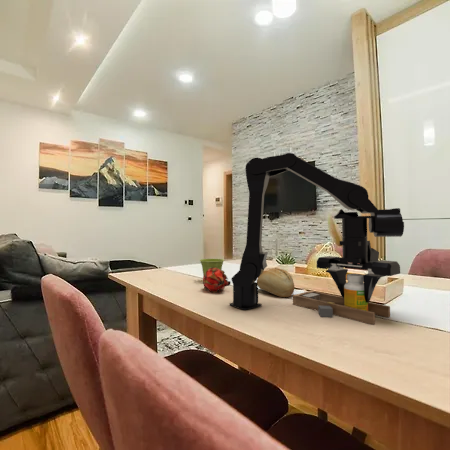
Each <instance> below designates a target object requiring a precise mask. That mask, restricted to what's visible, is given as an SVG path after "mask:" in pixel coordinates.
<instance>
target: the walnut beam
mask: <svg viewBox="0 0 450 450" xmlns="http://www.w3.org/2000/svg"><path fill="white" fill-rule="evenodd" d="M310 293H315V294H320V300H316V299H312V298H308V297H303V296H302V295H306V294H310ZM292 305H295V306H299V307H302V308H307V309H310V310H314V311H317V312H318V305H320V306H331V308H332V309H333V316H337V317H341V318H345V319H349V320H352V321H357V322H361V323H365V324H368V325H372V326H373V325H375V324H376V320H375V319H376V317H375V316H380V317H384V318H390V317H391V306H390V305H386V304H380V303H376V302H375V303H374V302H371V301H369V302H368V311H365V310H361V309H356V308H352V307H347V306H344V298H343V297H342V295H341V296H340V295H335V294H332V293H331V294H330V293H325V292H320V291H315V290H308V291H304V292H300V293H296V294H292Z"/></svg>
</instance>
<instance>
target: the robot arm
mask: <svg viewBox="0 0 450 450" xmlns="http://www.w3.org/2000/svg"><path fill="white" fill-rule="evenodd" d="M288 171H289V172H291V173H293V174H295V175H296V176H298V177H300V178H302V179H303V180H305V181H307V182H309V183H311V184H312V185H314V186H316V187H318V188H319V189H321V190H323V191H324V192H325V193H327V194H328V195H330V196H331V197H332V198H333V199H334V200H335V201H336V202H337V203H339V204H340V205H341V206H342V207H344V209H346V210H350V211H349V212H347V211H344V210H343V209H342V208H341V209H339V210H338V212H337V213H336V214H335V215H334V216H333V219H334V220H341V231H342V233H341V236H342V237H341V239H342V240H340V241H339V246H342V249H341V250H342V257H340V256H331V255H327V256H319V257H318V258H317V259H316V268H317V269H323V270H326V273H329V275H330V276H331V278H332V280H333V282H334V283H335V284H336V287H337V290H338V291H339V293H340V295H341V297H343V298H344V285H345V283H347V274H348V271H349V269H354V270H355V269H356V270H363V271H364V270H365V271H367V273H365V274H362V275H363V278H364V294H365V301H366V302H367V303H368V302H371V299H372V296H373V293H374V290H375V288H376V286H377V284H378V282H379V281H380V279H381V278H384V277H392V276H395V275H400V274H401V265H400V263H399V262H398V261H395V260H394V261H393V260H383V259H381V260H379V256H380V252H379V250H376V249H375V248H373V247H372V246H371V241H370V240H368V231H369V233H373V235H374V237H376V238H379V237H380V238H382V237H383V238H384V237H387V238H389V237H395V238H397V237H399V238H401V237H402V236H403V234H404V231H405V230H404V229H405V222H404V221H403V219H404V218H403V216H402V214H401V213H402V212H401V208H398V207H397V208H389V209H387V208H386V209H378V208H377V207H376V205H374V203H373V202H372V200H370V199H369V192H368V190H367V189H366V188H365V187H364V186H363V185H360V184H356V183H353V182H351V181H348V180H343V179H340V178H337V177H335V176H333V175H332V174H330V173H327V172H325V171H324V170H322V169H320V168H318V167H316V166H315V165H313V164H311V163H309V162H307V161H305V160H304V159H302V158H300V157H298V156H297V155H296V154H295V153H292V152H287V153H283V154H280V155H272V156H267V157H264V158H261V157H253V158H251V159H250V160H248V161H247V163H246V164H245V177H246V178H245V179H246V183H247V189H248V195H249V196H248V209H247V228H246V244H245V247H244V251H243V254H242V257H241V259H240V260H241V261H240V264H239V270H238V271H237V272H236V273H235V274H234V275H233V276H232V277H231V278H230V281H231V283H232V294H233V295H232V300H233V301H232V302H230V303H229V306H231V307H234V308H237V309H240V310H243V311H246V310H251V309H256V308H259V307H262V306H263V305H262V303H259V287H258V285H257V279H258V277H259V276H260V275H261V274H262V273H263V272H264V271H265V270H266V268H267V267H268V264H267V258H268V251H264V250H263V247H262V240H263V239H262V238H263V225H264V224H263V223H264V222H263V221H264V206H265V205H264V204H265V194H266V190H267V188H268V185H269V181H270V178H271V177H274V176H275V177H276V176H277V175H280V174H283V173H285V172H288ZM355 210H356V211H355ZM358 212H359V213H361V214H363V215H359V214H358ZM364 214H365V215H364ZM366 214H370V215H366Z"/></svg>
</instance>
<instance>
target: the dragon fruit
mask: <svg viewBox="0 0 450 450" xmlns="http://www.w3.org/2000/svg"><path fill="white" fill-rule="evenodd" d="M228 280H229V278H228V276H227V275H226V274H225V270H220V269H218V268H214V267H211V268H209V269H208V270H207V271H206V272H205V273H204V275H203V276H202V282H203V287H204V289H205V290H209V291H210V292H211V293H213V294H216V293H218V291H224V289H225V287H229V286H230V285H231V283H232V281H231V280H230V281H228Z"/></svg>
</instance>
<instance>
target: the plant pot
mask: <svg viewBox="0 0 450 450" xmlns="http://www.w3.org/2000/svg"><path fill="white" fill-rule="evenodd" d="M224 261H225V259H222V258H202V259H199V262H200V265H201V267H202V268H201V269H202V274H203V275H204V273H205V272H206V271H207V270H208V269H209V268H211V267H214V268H218V269H220V270H222V269H223V265H224Z"/></svg>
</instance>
